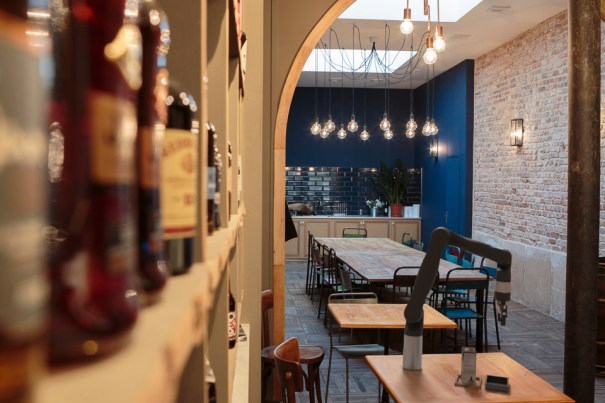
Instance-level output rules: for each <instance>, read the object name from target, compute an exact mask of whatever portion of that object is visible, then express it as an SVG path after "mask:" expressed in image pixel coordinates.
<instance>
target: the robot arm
mask: <svg viewBox="0 0 605 403" xmlns="http://www.w3.org/2000/svg"><path fill="white" fill-rule="evenodd" d="M429 239H430V240H429V242H428V246H427V251H426V253H425V255H424V257H423V259H422V261H421V264H420V267H419V268H418V272H417V274H416V277H415V280H414V284H413V287H412V288H413V289H412V290H411V291H412V292H411V295H410V297H409V299H408V302H407V304H406V305H405V307H404V309H403V317H404V319H405V326H404V331H403V332H404V334H403V349H402V369H405V370H408V371H420V370H422V368H423V367H422V366H423V363H422V362H423V333H424V332H423V331H424V325H425V324H424V321H425V320H424V319H425V310H424V304H425V301H426V299H427V297H428V295H429V294H430V292H431V290H432V288H433V287H434V284H435V282H436V278H437V276H438V273H439V268H440V262H441V258H442V256H443V255H442V254H443V252H444V251H445V248H446V246H450V247H455V248H459V249H460V250H463V251H465V252H467V253H470V254H471V255H472V254H473V255H475V256H477V257H481V258H484V259H487V260H490V261H492V262H495V263H496V271H495V283H494V294H493V295H494V300H495V301H496V312H497V320H496V321H497V322H499V324H500V326H501V327H506V325H507V324H506V323H507V320H506V319H507V318H508V306H509V305H507V302H510V301H512V299H511V298H512V271H511V270H512V263H513V262H512V259H513V254H512V252H511V251H510V250H509V249H506V248H502V249H501V248H497V247H494V246H493V245H491V244H488V243H486V242H482V241H480V240H476V239H473V238H470V237H467V236H464V235H460V234H458V233H456V232H454V231H452V230H450V229H448V228H447V227H443V226H440V227H437V228H434V230H432V232H431V234H430V238H429Z"/></svg>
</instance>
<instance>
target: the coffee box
mask: <svg viewBox="0 0 605 403" xmlns="http://www.w3.org/2000/svg"><path fill="white" fill-rule="evenodd" d="M460 360H461V366H460V368H461V369H460V370H461V372H460V375H461V378H460V380H461V383H463V384H471V385H477V383H476V382H477V381H476V377H477V375H476V374H477V350H476V347H471V346H470V347H469V346H461V359H460Z"/></svg>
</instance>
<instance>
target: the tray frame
mask: <svg viewBox="0 0 605 403" xmlns="http://www.w3.org/2000/svg"><path fill="white" fill-rule="evenodd" d="M459 378H460V379H461V373H460V374H459V373H457V374H456V377H455V380H454V386H456V387H463V386H464V388H470V387H471V389H479V390H480V389H481V386H482V379H483V378H482V376H476V380H477V381H478V385H477V384H476V385H471V384H463V383H462V382H458V381H459Z"/></svg>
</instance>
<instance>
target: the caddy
mask: <svg viewBox="0 0 605 403" xmlns="http://www.w3.org/2000/svg"><path fill="white" fill-rule="evenodd" d="M509 380H510V379H509V377H506V376H499V375H493V374H491V375H490V374H486V375H485V382H484V390H485V391H492V392H496V393H497V392H498V393H507V394H509V385H510V384H509Z"/></svg>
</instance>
